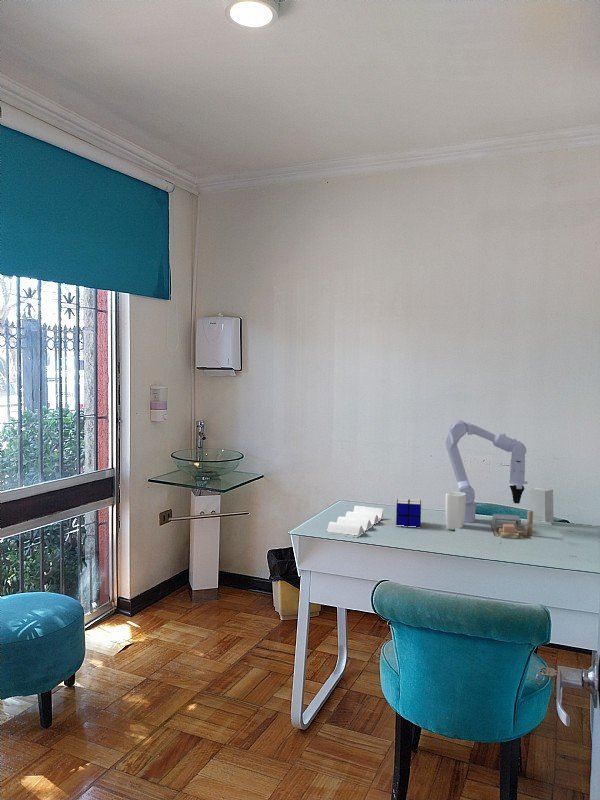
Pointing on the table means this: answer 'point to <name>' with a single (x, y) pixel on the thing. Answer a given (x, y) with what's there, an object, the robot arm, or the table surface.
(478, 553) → the table surface
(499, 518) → the tunnel
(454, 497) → the cup
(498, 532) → the deck
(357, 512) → the white ridged rack
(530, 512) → the slider
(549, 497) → the skincare box
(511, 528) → the block
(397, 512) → the puzzle cube
